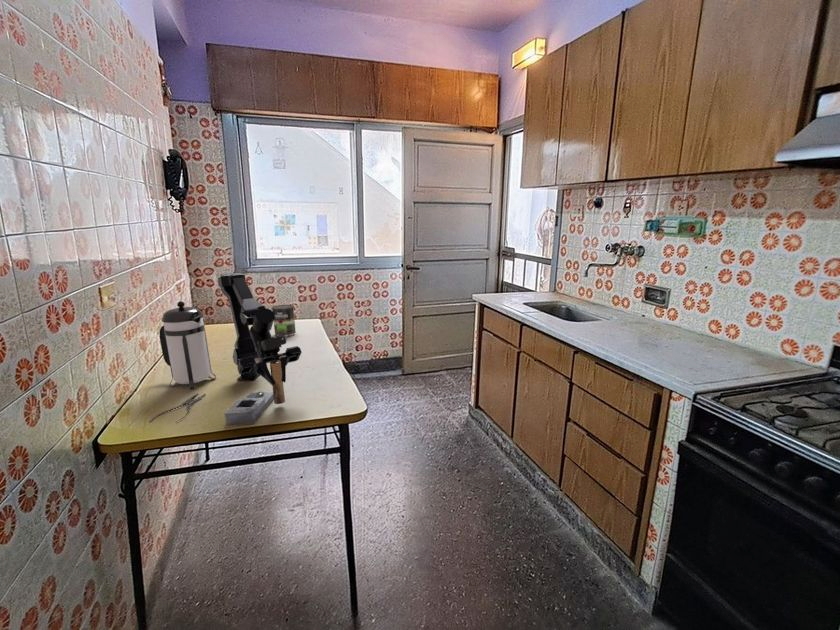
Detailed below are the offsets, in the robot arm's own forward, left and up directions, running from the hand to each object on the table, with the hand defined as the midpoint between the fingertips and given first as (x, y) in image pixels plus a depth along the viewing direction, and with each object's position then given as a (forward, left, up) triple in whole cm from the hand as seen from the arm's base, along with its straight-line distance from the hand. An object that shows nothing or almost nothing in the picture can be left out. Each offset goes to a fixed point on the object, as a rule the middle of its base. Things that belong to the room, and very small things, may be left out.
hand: (279, 383), depth 128 cm
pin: (-1, -1, -7) cm, 7 cm away
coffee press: (-22, -41, -8) cm, 47 cm away
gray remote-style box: (+1, -9, -8) cm, 12 cm away
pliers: (-1, -33, -9) cm, 34 cm away
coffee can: (-83, -26, -9) cm, 87 cm away
